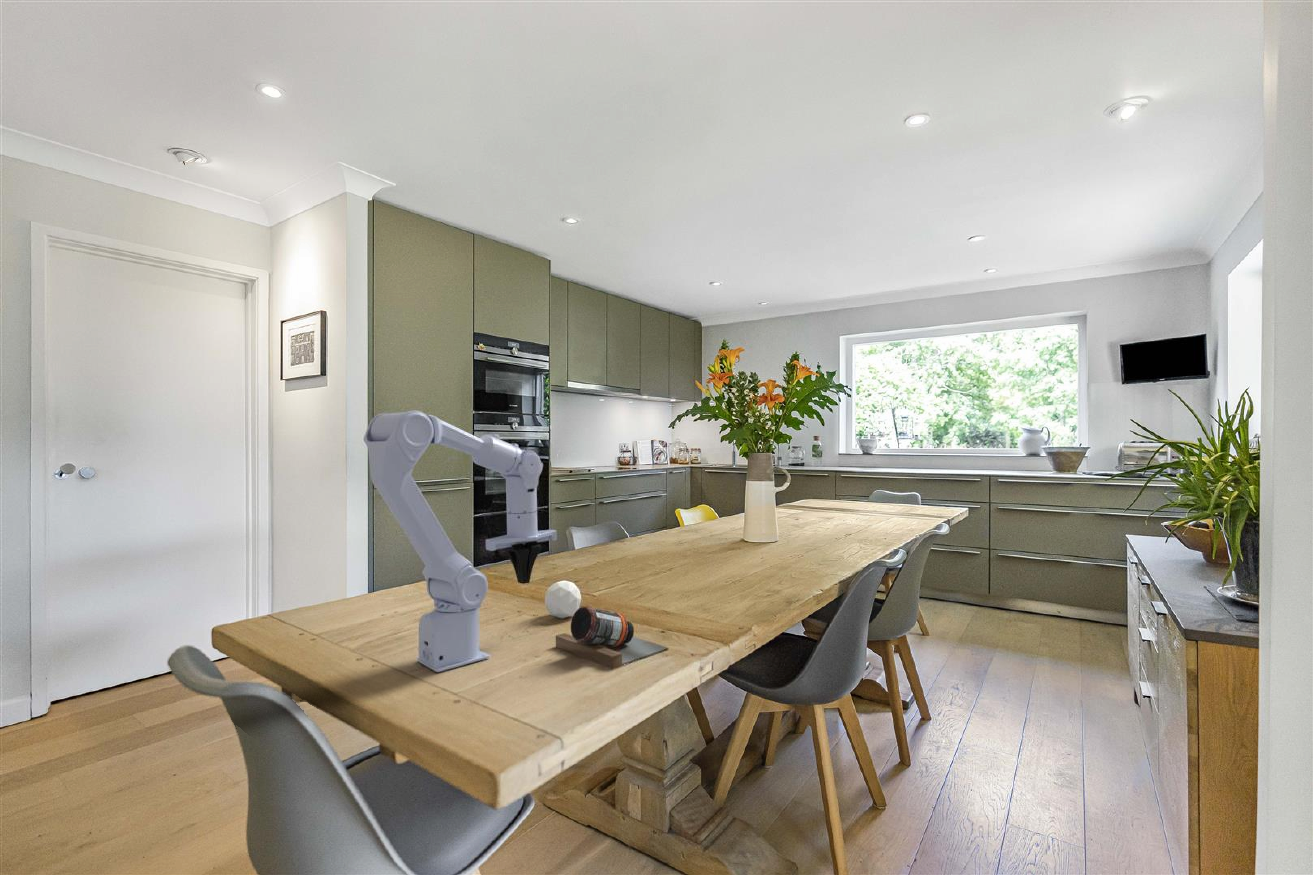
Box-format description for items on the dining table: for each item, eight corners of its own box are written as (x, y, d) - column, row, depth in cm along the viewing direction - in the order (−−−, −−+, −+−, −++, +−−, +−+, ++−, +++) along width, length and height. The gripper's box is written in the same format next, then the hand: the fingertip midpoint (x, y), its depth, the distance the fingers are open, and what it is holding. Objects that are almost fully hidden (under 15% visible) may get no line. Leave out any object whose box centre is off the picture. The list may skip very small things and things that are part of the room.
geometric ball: (566, 632, 126) (561, 608, 121) (540, 613, 130) (534, 589, 125) (590, 608, 131) (586, 584, 126) (564, 591, 135) (560, 567, 130)
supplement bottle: (570, 607, 105) (615, 617, 113) (567, 642, 102) (614, 651, 110) (593, 603, 102) (638, 614, 109) (590, 639, 99) (637, 648, 106)
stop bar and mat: (612, 668, 97) (612, 656, 97) (555, 646, 109) (555, 635, 109) (668, 649, 106) (668, 638, 106) (610, 630, 118) (610, 620, 118)
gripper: (498, 517, 106) (500, 593, 107) (565, 509, 117) (566, 578, 117) (479, 514, 112) (481, 587, 112) (544, 507, 122) (546, 573, 122)
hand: (523, 582), depth 114 cm, fingers closed
